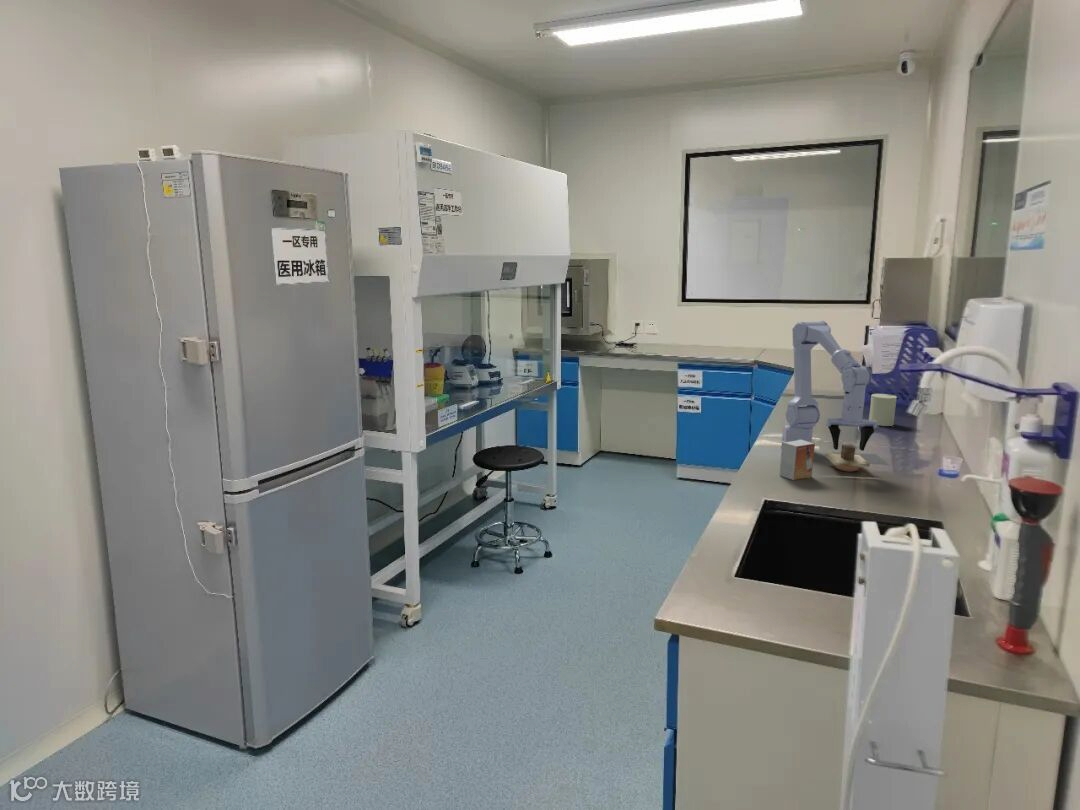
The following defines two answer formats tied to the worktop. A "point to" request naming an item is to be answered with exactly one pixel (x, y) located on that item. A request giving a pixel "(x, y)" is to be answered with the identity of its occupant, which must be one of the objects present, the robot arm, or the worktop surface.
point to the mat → (870, 458)
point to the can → (883, 409)
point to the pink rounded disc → (847, 468)
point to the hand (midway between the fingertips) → (848, 449)
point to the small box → (797, 459)
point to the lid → (847, 457)
